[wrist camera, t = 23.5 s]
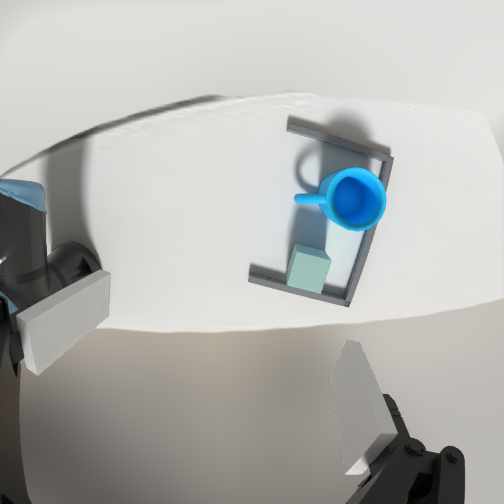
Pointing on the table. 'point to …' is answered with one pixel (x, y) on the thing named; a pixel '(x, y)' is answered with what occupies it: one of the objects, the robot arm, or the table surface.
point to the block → (307, 268)
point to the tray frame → (368, 234)
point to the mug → (349, 198)
